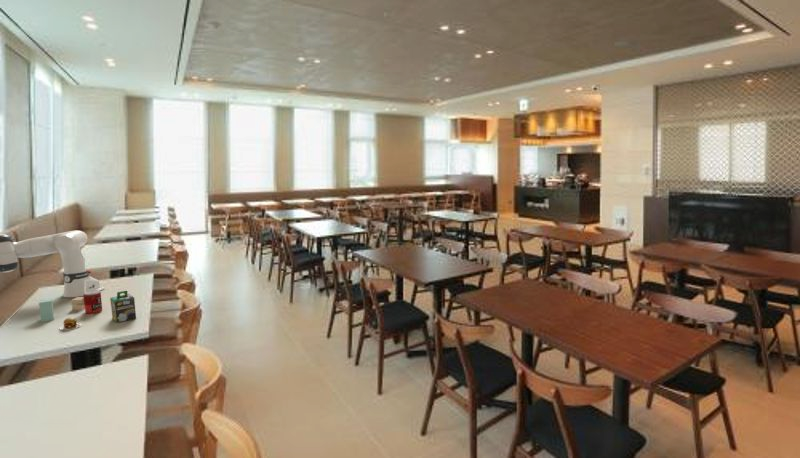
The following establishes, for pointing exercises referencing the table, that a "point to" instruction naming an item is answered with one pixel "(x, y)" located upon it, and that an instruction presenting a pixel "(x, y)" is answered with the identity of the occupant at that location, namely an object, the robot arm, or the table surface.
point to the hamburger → (70, 324)
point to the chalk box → (123, 307)
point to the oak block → (78, 303)
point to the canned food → (92, 301)
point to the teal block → (46, 310)
